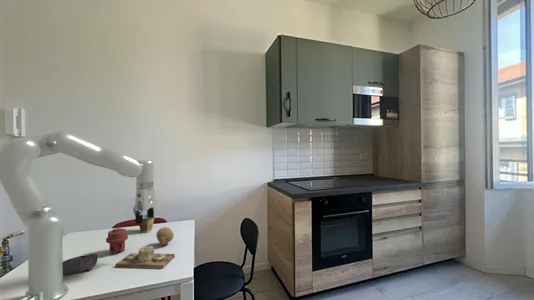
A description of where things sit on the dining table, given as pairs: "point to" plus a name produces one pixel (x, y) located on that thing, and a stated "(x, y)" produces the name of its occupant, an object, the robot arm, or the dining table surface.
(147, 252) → the birch gear
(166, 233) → the natural sponge
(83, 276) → the dining table surface
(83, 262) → the perforated stone tool
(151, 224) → the ceramic cup
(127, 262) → the gear board
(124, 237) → the mechanical component
